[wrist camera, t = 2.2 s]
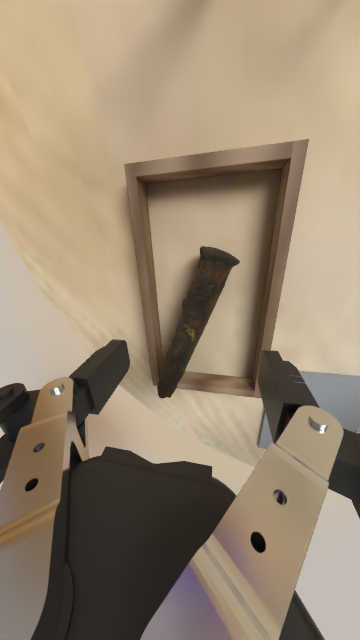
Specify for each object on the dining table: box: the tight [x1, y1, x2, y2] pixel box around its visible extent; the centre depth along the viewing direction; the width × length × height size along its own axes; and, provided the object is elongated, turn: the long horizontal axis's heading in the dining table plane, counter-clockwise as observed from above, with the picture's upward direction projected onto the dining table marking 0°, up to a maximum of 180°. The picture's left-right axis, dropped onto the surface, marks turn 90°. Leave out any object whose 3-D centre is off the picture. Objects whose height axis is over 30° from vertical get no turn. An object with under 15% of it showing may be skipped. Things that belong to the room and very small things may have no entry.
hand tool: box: [157, 246, 240, 398], centre depth 21 cm, size 19×4×5 cm, turn 159°
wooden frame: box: [124, 139, 309, 398], centre depth 22 cm, size 15×26×2 cm, turn 2°
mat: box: [258, 371, 360, 449], centre depth 27 cm, size 12×16×1 cm
